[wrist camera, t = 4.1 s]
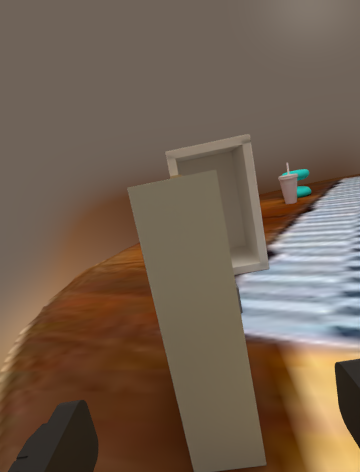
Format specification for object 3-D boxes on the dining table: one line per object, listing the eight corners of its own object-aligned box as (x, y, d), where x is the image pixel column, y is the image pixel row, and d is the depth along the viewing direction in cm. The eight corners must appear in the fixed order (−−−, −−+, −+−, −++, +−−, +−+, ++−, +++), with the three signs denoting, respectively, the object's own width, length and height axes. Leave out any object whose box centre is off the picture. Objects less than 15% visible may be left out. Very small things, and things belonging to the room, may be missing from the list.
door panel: (237, 353, 25) (204, 172, 22) (266, 465, 15) (216, 169, 12) (192, 359, 26) (154, 182, 22) (194, 474, 16) (127, 187, 13)
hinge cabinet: (252, 249, 55) (236, 143, 51) (298, 303, 31) (274, 115, 28) (182, 261, 56) (161, 159, 52) (177, 323, 32) (138, 145, 29)
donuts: (277, 174, 110) (286, 171, 117) (280, 200, 112) (289, 195, 119) (303, 170, 103) (312, 167, 111) (306, 197, 105) (314, 192, 112)
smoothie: (304, 200, 99) (299, 160, 97) (294, 204, 96) (289, 162, 93) (287, 201, 104) (282, 163, 102) (278, 205, 101) (272, 165, 98)
